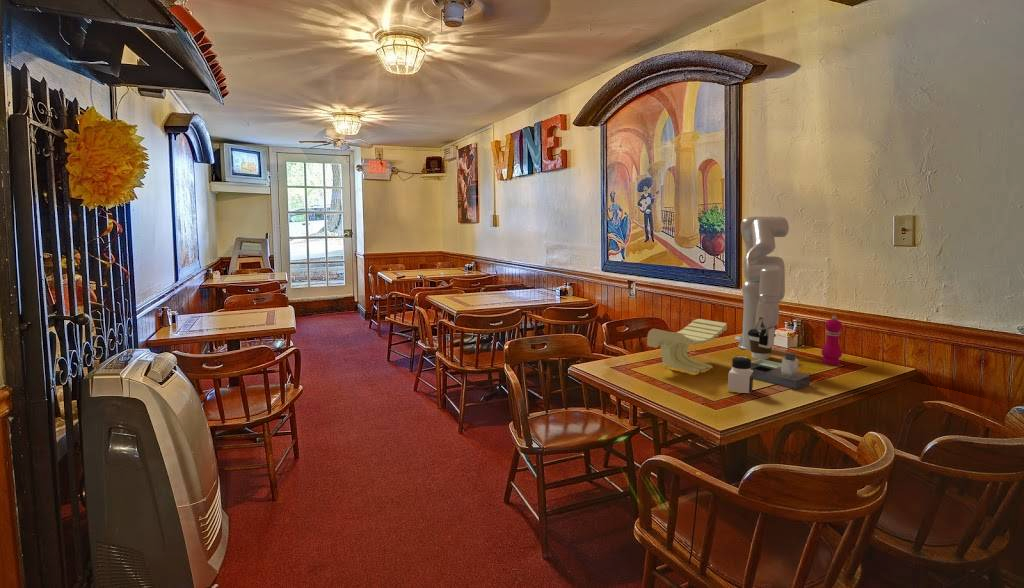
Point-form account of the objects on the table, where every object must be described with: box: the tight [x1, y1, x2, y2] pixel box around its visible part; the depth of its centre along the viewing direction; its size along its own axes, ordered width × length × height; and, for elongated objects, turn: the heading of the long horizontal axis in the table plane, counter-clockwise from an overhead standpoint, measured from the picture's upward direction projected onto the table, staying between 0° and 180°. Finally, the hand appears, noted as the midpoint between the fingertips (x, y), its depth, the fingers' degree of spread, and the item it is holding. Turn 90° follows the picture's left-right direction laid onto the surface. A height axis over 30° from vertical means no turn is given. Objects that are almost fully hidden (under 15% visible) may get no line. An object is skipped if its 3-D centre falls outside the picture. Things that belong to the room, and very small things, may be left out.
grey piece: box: [751, 352, 811, 391], centre depth 204 cm, size 24×10×12 cm, turn 36°
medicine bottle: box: [727, 356, 754, 394], centre depth 192 cm, size 7×7×12 cm
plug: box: [759, 326, 776, 349], centre depth 219 cm, size 4×4×10 cm
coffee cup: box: [748, 329, 777, 360], centre depth 233 cm, size 11×11×12 cm
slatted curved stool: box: [646, 318, 728, 373], centre depth 220 cm, size 30×16×18 cm, turn 127°
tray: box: [751, 359, 782, 369], centre depth 220 cm, size 11×11×2 cm
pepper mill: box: [821, 315, 843, 366], centre depth 224 cm, size 7×7×20 cm
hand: (766, 343), depth 219 cm, fingers closed on plug, 4 cm apart
